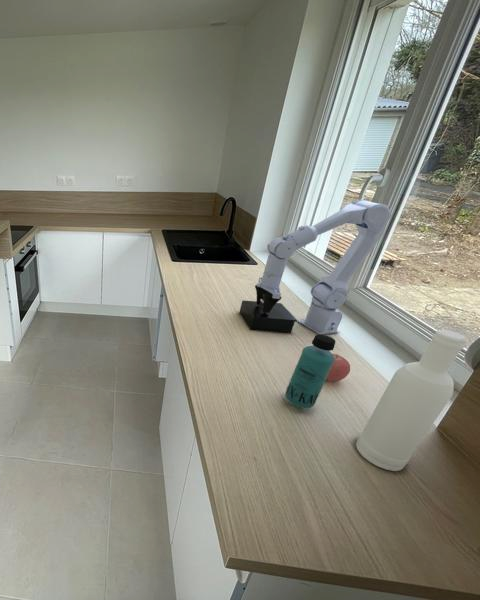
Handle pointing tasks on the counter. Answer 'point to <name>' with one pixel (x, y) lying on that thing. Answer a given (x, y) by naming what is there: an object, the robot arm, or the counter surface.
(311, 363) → the beverage bottle
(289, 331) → the black square box
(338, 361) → the apple
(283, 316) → the lid
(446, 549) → the counter surface
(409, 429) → the bottle
